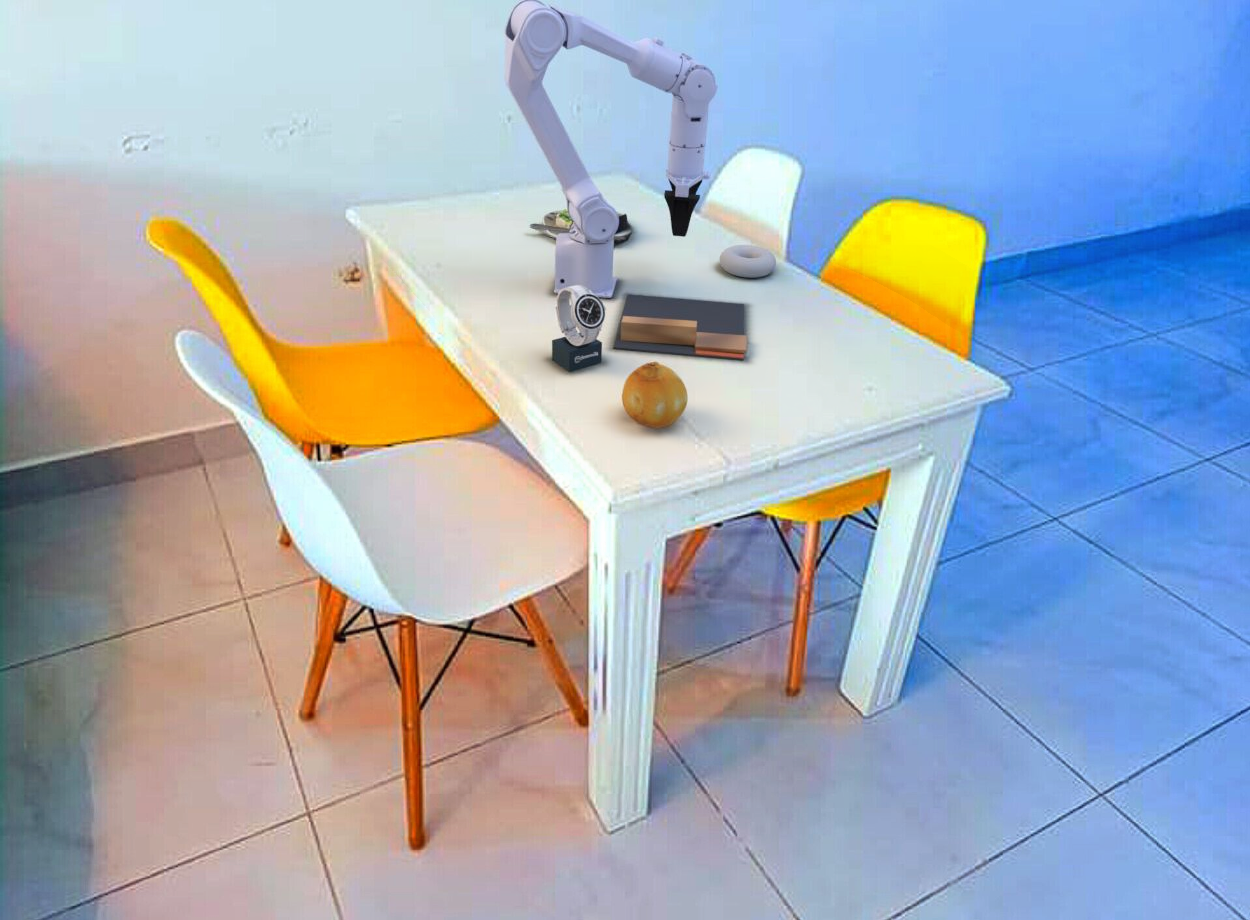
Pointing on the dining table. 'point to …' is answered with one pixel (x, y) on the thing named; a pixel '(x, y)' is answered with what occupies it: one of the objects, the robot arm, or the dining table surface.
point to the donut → (747, 261)
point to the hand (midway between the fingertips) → (680, 227)
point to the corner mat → (704, 312)
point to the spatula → (679, 334)
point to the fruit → (654, 395)
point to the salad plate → (563, 223)
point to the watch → (588, 319)
